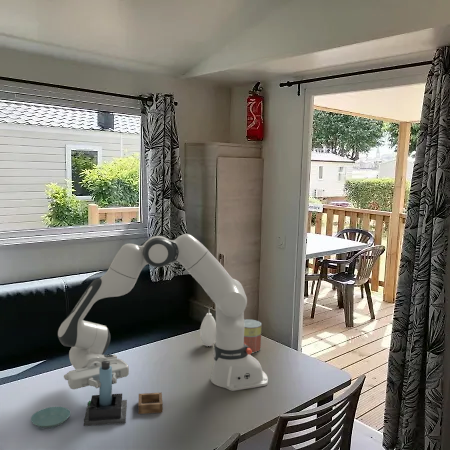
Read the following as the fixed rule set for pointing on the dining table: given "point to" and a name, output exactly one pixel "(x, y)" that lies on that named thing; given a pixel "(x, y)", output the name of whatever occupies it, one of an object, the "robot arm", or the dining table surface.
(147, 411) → the wooden square frame
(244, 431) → the dining table surface
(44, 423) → the saucer
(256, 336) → the canned food
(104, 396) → the blue bottle
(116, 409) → the port
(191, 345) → the dining table surface
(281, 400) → the dining table surface
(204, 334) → the sauce bottle
